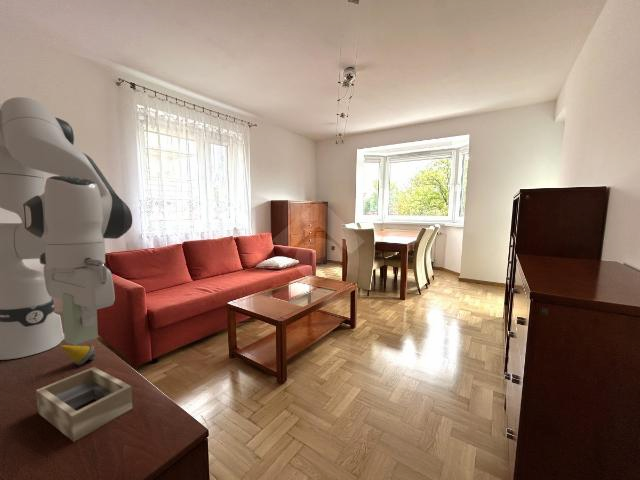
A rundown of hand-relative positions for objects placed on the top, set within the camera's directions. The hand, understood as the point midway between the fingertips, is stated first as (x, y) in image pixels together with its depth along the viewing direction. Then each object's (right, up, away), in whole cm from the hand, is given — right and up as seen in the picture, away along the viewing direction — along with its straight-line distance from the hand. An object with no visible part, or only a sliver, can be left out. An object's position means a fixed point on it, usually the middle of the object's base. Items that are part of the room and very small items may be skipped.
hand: (80, 322), depth 55 cm
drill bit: (-17, -18, +19) cm, 31 cm away
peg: (0, -4, 0) cm, 4 cm away
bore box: (0, -19, +2) cm, 19 cm away
